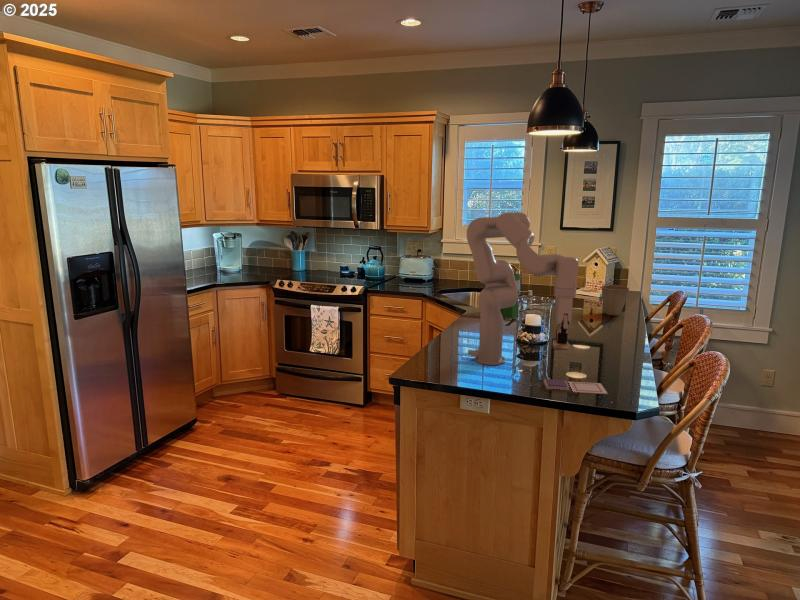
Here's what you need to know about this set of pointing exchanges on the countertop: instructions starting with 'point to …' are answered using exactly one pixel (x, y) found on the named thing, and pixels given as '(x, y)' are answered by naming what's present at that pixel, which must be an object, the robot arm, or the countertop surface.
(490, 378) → the countertop surface
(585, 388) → the note card
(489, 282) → the robot arm
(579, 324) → the countertop surface
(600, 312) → the countertop surface
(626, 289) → the plant pot
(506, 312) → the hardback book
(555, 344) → the stamp
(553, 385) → the ink pad
